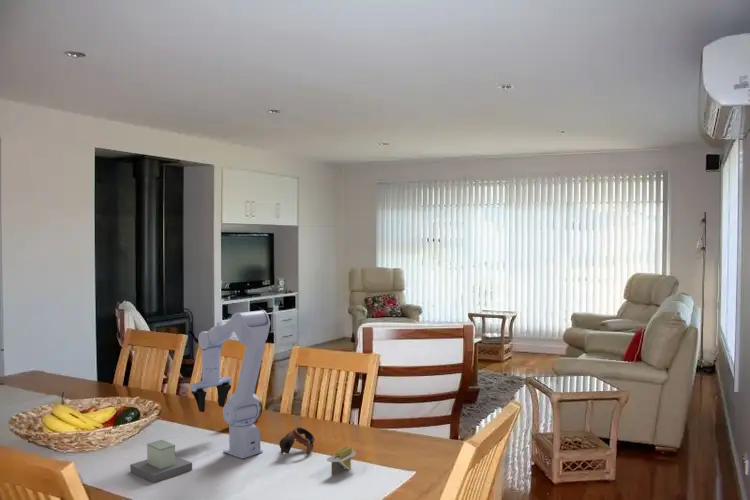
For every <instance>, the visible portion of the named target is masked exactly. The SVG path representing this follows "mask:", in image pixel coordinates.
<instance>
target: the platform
mask: <svg viewBox="0 0 750 500" xmlns="http://www.w3.org/2000/svg"><path fill="white" fill-rule="evenodd" d="M356 454H357V452H356V451H355V450H354V449H353V447H352V446H351V445H349V446H348V445H346V446H344V447H341V448H340V449H337V450H335V451H334V454H333V455H331V456H329V457H327V458H326V461H327V462H329V463H331V476H333V475H335V474H338V473H339V472H341V471H343V470H344V469H345V470H346V469H347V470H348V471H349V470H351V466H352V465H351V464H352V463H351V461H352V459H351V458H352V457H354V456H356Z"/></svg>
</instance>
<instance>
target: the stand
mask: <svg viewBox="0 0 750 500" xmlns="http://www.w3.org/2000/svg"><path fill="white" fill-rule="evenodd" d="M129 467H130V469H129V471H130V473H132V474H134V475H136V476H139V477H140V478H143V479H145V480H147V481H148V482H150V483H153V484H154V483H156V482H160V481H162V480H163V481H164V480H165V479H168V478H172V477H175V476H177V475H178V476H179V475H180V474H183V473H187V472H190V471H192V470H193V462H191V461H189V460H187V459H184V458H181V457H179V456H177V455H175V465H172V466H169V467H166V468H162V469H159V468H157V467H155V466H153V465H151V464H149V463H147V459H144V460H142V461H141V460H140V461H138V462H134V463H132V464H130V465H129Z"/></svg>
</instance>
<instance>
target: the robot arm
mask: <svg viewBox="0 0 750 500" xmlns="http://www.w3.org/2000/svg"><path fill="white" fill-rule="evenodd" d="M271 324H272V323H271V319H270V317H269V314H268V313H267V312H266V310H264V309H260V310H254V311H246V312H245V311H244V312H235V313H234V314H232V315H231V318H230V319H229V320H228V321H227V322H223V321H217V322H216V325H215V326H213V327H211V328H210V329H209V330H208V331H206V330H205V331H204V330H202V331H201V332H199V334H198V340H197V341H198V345H199V347H200V349H201V358H202V359H201V363H202V364H201V366H202V367H201V370H202V371H201V375H202V376H201V377H202V379H201V380H200V381H198V382H195V383H192V384H190V385H189V387H190V390H189V391H191V392H190V393H191V394H192V395H193V398H194V400H195V401H196V404H197V408H198V412H201V413H204V412H206V411H205V409H206V397H207V393H208V392H207V391H205V389H208V388H209V389H210V388H214V387H216V389H217V404H218V406H219V407H220V408H223V409H222V417H223V420H224V422H225V423H226V424H227V425H228V424H229V425H228V426H229V427H228V433H229V434H228V437H229V438H228V440H229V441H228V442H229V445H228V447H229V448H226V449H223V453H226V454H229V455H231V456H234V457H237V458H239V459H246V458H249V457H252V456H254V455H257V454H261V453H263V450H262V449H261V430H260V428H259V427H257V426H256V425H255V424H254V423H255V422H256V421H255V418H257V417H258V415H259V402H261V400H260V398H259V397H258V395H257V394H256V393H255V391H256V386H257V381H258V377H259V373H260V369H261V365H262V361H263V356H264V351H265V348H266V341H267V340H268V336H269V332H270V327H271ZM233 334H235V335H236V337H237V339H238V341H239V343H240V344H242V345H243V346H245V350H244V354H243V358H242V359H243V360H242V364H241V368H240V372H239V377H238V381H237V384H236V390H235V391H234V392H233V393H232V394H231V395H230V396H228V394H229V393H230V390H231V389H232V385H231V384H232V381H233V380H232V379H233V378H232V377H231V376H222V377H221V353H222V352H223V345H224V343H225V342H226V341H228V340H229V339H231V338H232V336H233ZM226 400H227V401H226Z"/></svg>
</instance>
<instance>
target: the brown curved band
mask: <svg viewBox="0 0 750 500" xmlns="http://www.w3.org/2000/svg"><path fill="white" fill-rule="evenodd" d="M303 435H304V436H303ZM315 440H316V439H315V437H314V434H312V433H311V432H310V431H308V430H307V429H306V428H303V427H301V426H300V427H299V426H297V427H294V429H293V430H291V431H288V432H287V433H286V435H285V436H284V437H282V438H281V439H280V441H279V448H280V454H282V455H283V454H290V451H291V448H292V447H293V445H294V444H295V442H296V443H297V442H298V443H299V444H301V445H303V446H306V451H305V455H310V454H311V451H313V449H314V444H315V443H314V442H315Z"/></svg>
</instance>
